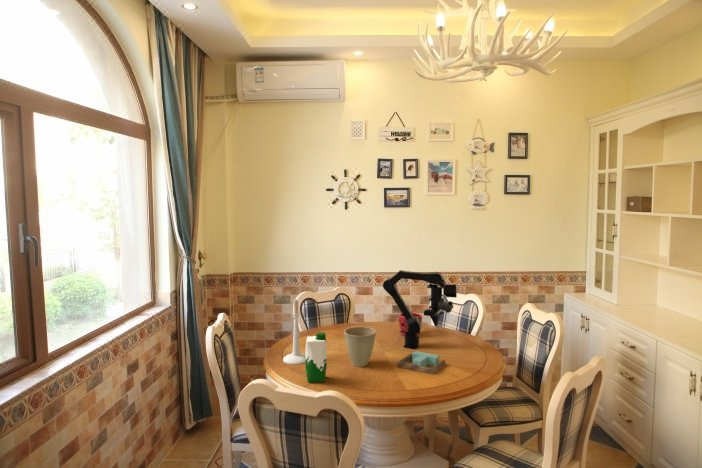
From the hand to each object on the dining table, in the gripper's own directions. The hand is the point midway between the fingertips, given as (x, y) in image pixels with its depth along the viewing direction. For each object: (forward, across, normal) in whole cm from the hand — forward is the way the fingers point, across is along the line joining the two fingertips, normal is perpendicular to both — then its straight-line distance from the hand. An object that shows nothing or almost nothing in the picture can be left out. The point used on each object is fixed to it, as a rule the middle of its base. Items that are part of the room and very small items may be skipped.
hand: (436, 326), depth 234 cm
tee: (+12, -26, -4) cm, 29 cm away
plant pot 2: (+12, +15, +22) cm, 29 cm away
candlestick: (+12, -53, +50) cm, 74 cm away
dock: (+12, -26, -4) cm, 29 cm away
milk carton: (+12, -67, +27) cm, 73 cm away
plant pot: (+12, -41, +21) cm, 48 cm away
